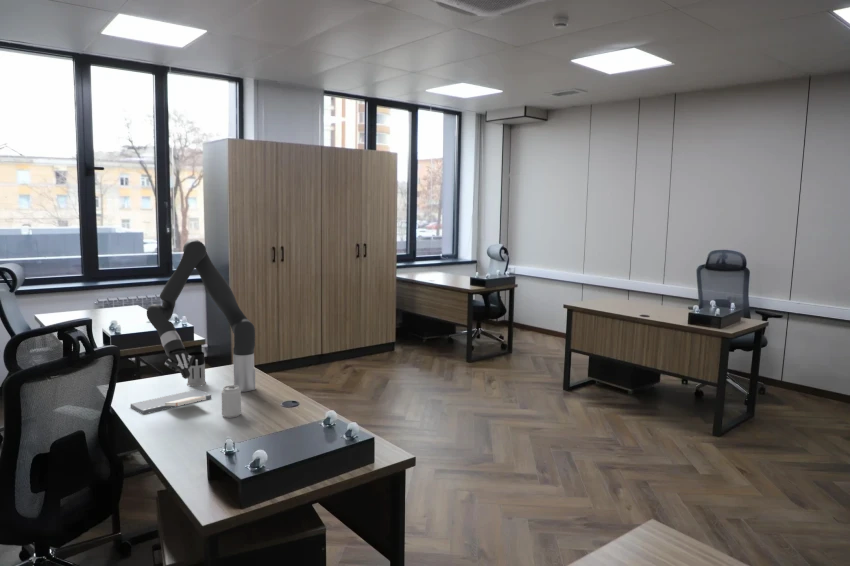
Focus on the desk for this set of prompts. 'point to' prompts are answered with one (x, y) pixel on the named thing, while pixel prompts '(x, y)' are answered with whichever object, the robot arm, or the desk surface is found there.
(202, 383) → the glass holder
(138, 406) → the board
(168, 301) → the robot arm
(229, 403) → the can
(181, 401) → the white square panel
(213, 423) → the desk surface
